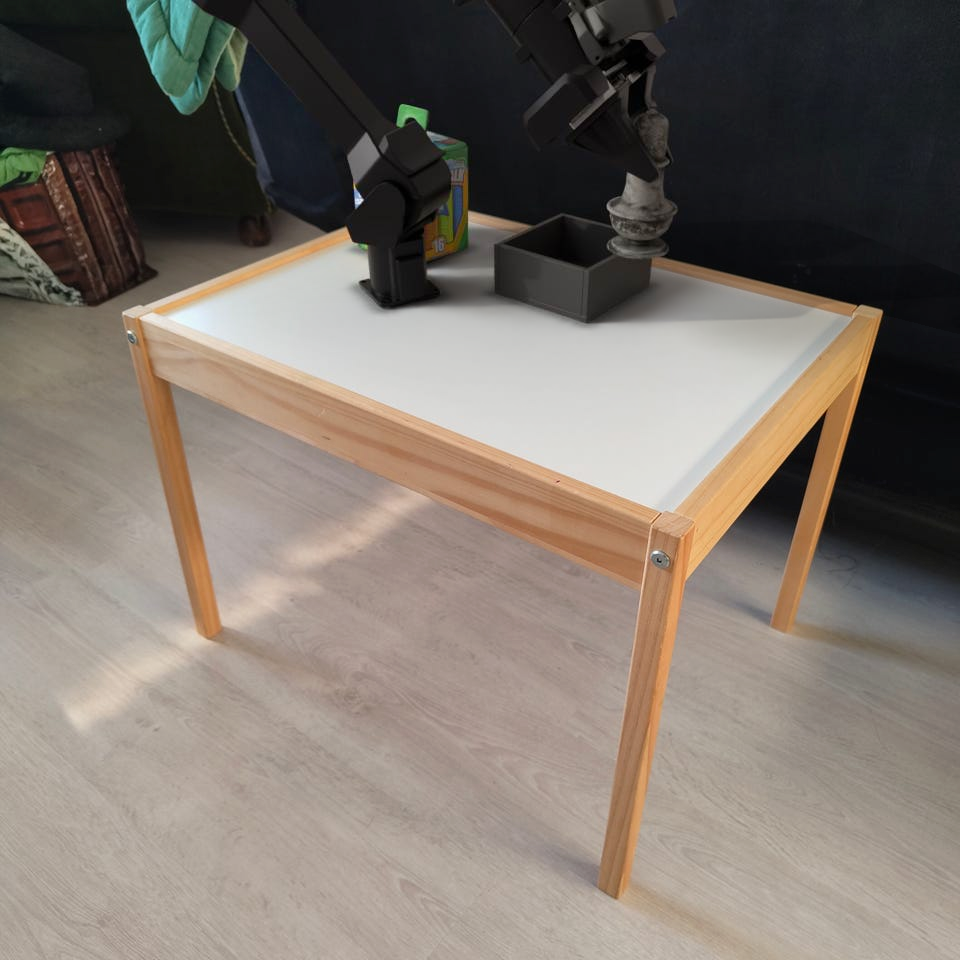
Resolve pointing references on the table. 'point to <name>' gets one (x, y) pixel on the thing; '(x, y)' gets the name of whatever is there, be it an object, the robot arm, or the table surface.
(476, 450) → the table surface
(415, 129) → the robot arm
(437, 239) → the chalk box
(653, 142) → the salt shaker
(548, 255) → the basket
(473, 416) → the table surface
